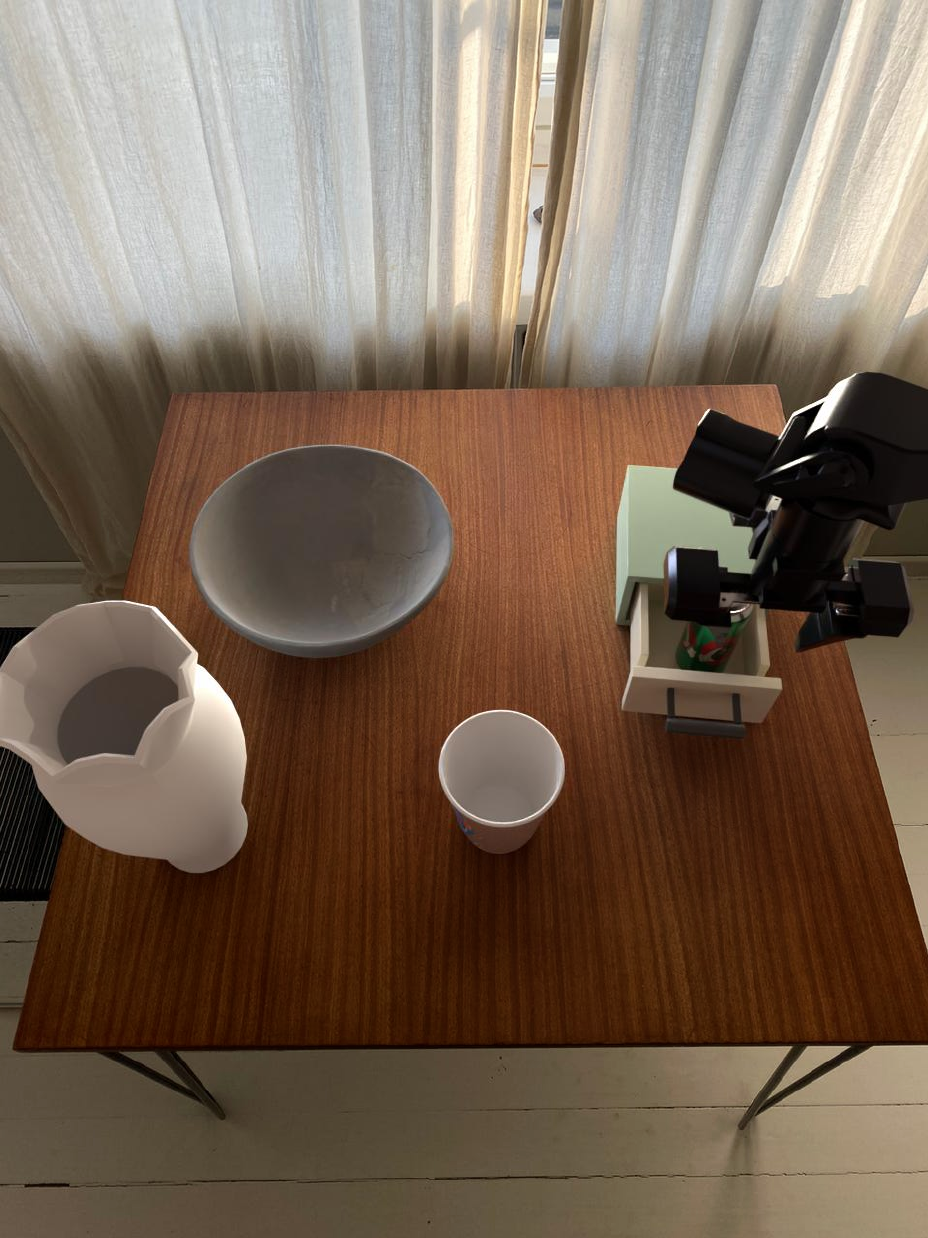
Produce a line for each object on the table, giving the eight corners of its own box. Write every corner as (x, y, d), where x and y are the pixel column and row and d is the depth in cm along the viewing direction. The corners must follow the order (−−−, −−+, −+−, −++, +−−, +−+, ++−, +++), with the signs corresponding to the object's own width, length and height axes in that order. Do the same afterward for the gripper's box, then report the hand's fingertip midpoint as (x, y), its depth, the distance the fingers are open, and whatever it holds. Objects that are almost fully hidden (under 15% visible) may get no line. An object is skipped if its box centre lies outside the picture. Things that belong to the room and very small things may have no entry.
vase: (301, 768, 84) (231, 597, 60) (259, 923, 76) (158, 799, 52) (155, 748, 85) (28, 573, 61) (99, 898, 78) (-73, 766, 53)
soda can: (734, 659, 88) (768, 590, 78) (706, 692, 86) (737, 626, 76) (692, 631, 90) (719, 561, 80) (664, 663, 88) (688, 595, 78)
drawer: (765, 766, 83) (787, 734, 77) (621, 752, 84) (632, 720, 78) (751, 608, 93) (769, 570, 87) (622, 598, 93) (632, 559, 88)
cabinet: (756, 636, 92) (781, 588, 84) (615, 624, 93) (627, 575, 85) (746, 527, 100) (768, 474, 92) (616, 517, 101) (628, 464, 93)
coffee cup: (441, 769, 84) (437, 711, 74) (548, 764, 84) (558, 706, 74) (444, 875, 78) (440, 829, 68) (559, 870, 78) (571, 823, 68)
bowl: (243, 493, 103) (222, 432, 95) (464, 506, 102) (463, 445, 94) (186, 687, 89) (157, 635, 81) (443, 705, 88) (440, 654, 79)
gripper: (923, 460, 68) (853, 579, 81) (679, 445, 69) (649, 564, 82) (952, 575, 61) (871, 684, 74) (683, 556, 63) (650, 666, 76)
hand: (757, 644), depth 77 cm, fingers open, 6 cm apart
